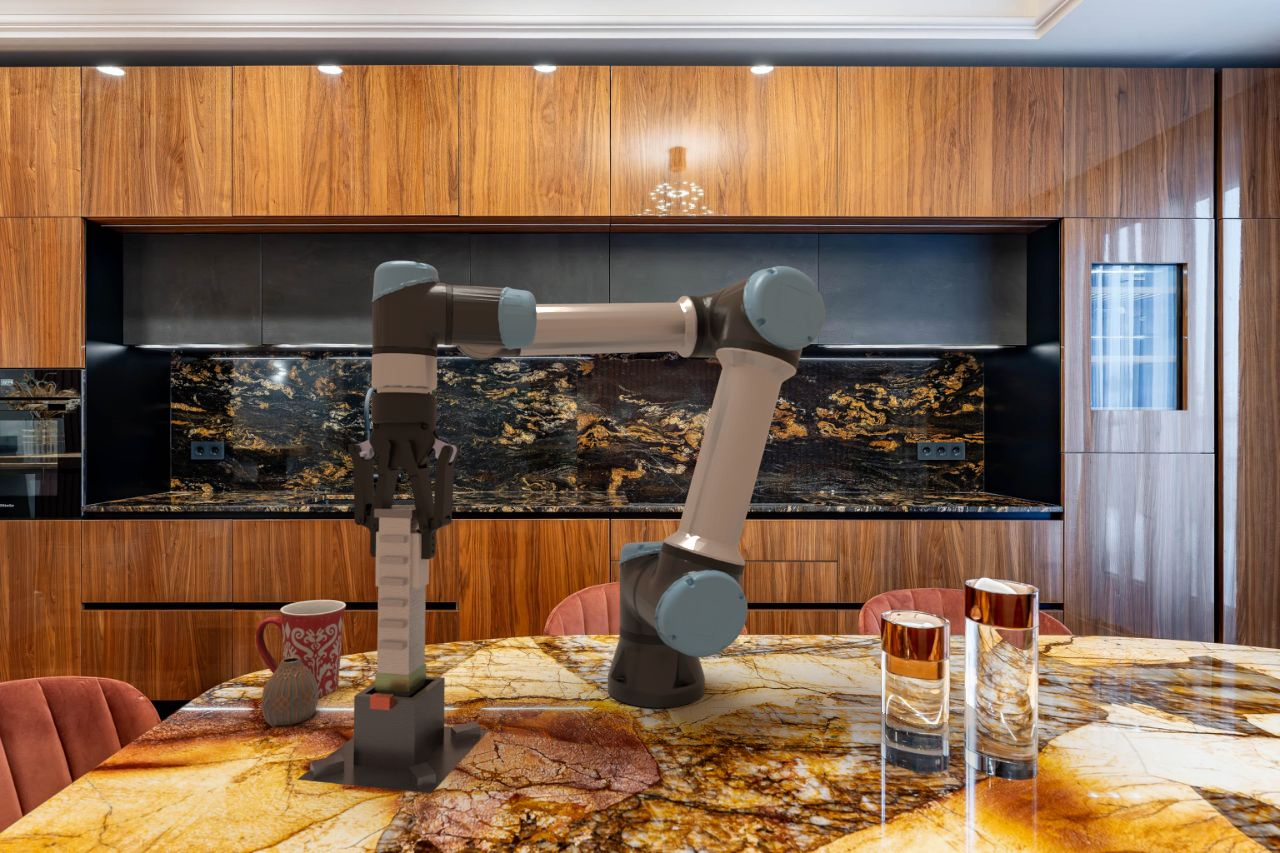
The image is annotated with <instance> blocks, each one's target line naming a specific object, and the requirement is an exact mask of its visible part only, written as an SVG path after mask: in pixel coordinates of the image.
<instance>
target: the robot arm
mask: <svg viewBox="0 0 1280 853" xmlns="http://www.w3.org/2000/svg"><path fill="white" fill-rule="evenodd" d="M373 275H374V276H373V290H372V291H373V293H372V299H371V303H372V304H371V310H372V311H371V312H372V313H371V316H372V317H371V318H372V320H371V321H372V323H371V324H372V327H371V328H372V331H371V334H372V336H371V337H372V338H371V339H372V341H371V344H372V352H371V353H372V354H371V357H372V358H371V387H372V388H373V389H375V390H376V392H375V393H373V394H372V395H371V413H370V414H371V416H370V417H371V419H370V420H371V423H372V431H371V433H370V435H369V437H368V438H369V439H367V440H365V441H363V442H360V443H352V444H350V445H349V446H348V452H349V455H350V459H351V461H352V466H353V505H354V506H353V507H354V508H353V510H354V512H353V513H354V523H355V525H357V526H362V527H365V528H367V529H368V530H369V536H370V537H369V553H370V557H371V558H375V587H378V570H379V517H374V509H376V508H383V507H388V506H392V505H393V500H394V497H395V496H394V495H395V491H396V486H397V481H398V477H399V476H400V474H401V471H402V469H404V470H406V474H407V476H408V478H409V479H410V485H411V491H412V496H413V503H414V505H415V508H416V509H417V519H418V525H419V529H417V530H416V531H417V532H416V533H413V572H412V588H420V587H422V586H425V585H426V586H427V585H429V584H430V559H433V558H435V555H436V552H437V551H436V548H437V543H436V542H437V532H438V530H439V529H441V528H443V527H446V526H450V525H451V523H452V522H453V520H452V519H453V500H454V499H453V498H454V480H455V479H454V476H455V474H454V473H455V464H456V460H457V458H458V455H459V453H460V447H459V446H458V445H457V444H449V443H446V442H444V441H443V440H441V439H440V436H439V435H438V433H437V432H438V431H437V428H436V424H437V419H438V418H437V416H438V412H437V411H438V410H437V408H438V407H437V406H438V405H437V404H438V397H436V395H435V394H432V392H433V391H435V390H436V389H437V388H438V385H437V384H438V345H441V346H442V345H443V346H456V347H457V349H458V350H459V351H460V353H462V354H463V355H464V356H466V357H467V358H469V359H472V360H475V361H476V360H477V361H478V360H479V361H485V360H490V359H492V358H503V357H506V358H507V357H509V358H510V357H525V356H527V357H528V356H529V357H530V356H559V355H561V356H563V355H590V354H592V355H593V354H594V355H595V354H619V353H620V354H621V353H622V354H625V353H626V354H627V353H656V352H657V353H658V352H663V353H664V352H676V353H677V354H678V355H679V356H681V357H683V358H713V359H714V358H715V359H717V360H718V362H719V363H720V365H721V368H722V369H721V371H720V372H721V373H720V376H719V380H718V383H717V388H716V391H715V395H714V399H713V401H712V406H711V409H710V413H709V416H708V420H707V424H706V427H705V430H704V435H703V438H702V442H701V445H700V450H699V452H698V457H697V461H696V464H695V467H694V471H693V475H692V479H691V482H690V487H689V490H688V493H687V497H686V500H685V504H684V507H683V511H682V515H681V519H680V523H679V526H678V528H677V530H676V531H675V532H674V533H672V534H670V535H669V536H666V537H665V538H664V539H663V540H662V541H661V540H659V541H637V542H636V541H635V542H629V543H626V544H624V545H623V546H622V547H621V550H620V554H619V555H620V557H619V562H618V568H619V622H618V623H619V635H618V642H617V644H616V645H617V646H616V648H615V651H614V655H613V658H612V661H611V663H610V667H609V670H608V673H607V692H608V694H609V695H610V696H611V697H612V698H614V699H615V700H617V701H619V702H621V703H624V704H627V705H631V706H636V707H642V708H656V709H657V708H659V709H661V708H673V707H681V706H684V705H688V704H691V703H694V702H696V701H698V700H699V699H701V698H702V697H703V696H704V694H705V692H706V691H705V690H706V686H705V685H706V684H705V683H706V681H705V680H706V678H705V673H704V670H703V666H702V663H701V660H700V658H703V657H710V656H713V655H714V656H715V655H717V654H719V653H720V652H722V651H723V650H725V649H727V648H729V647H730V646H731V645H732V644H733V643H734V642H735V641H736V640H737V639H738V637H739V636H740V635H741V634H742V631H743V629H744V627H745V624H746V622H747V617H748V601H747V597H746V596H745V593H744V590H743V588H742V586H741V582H742V578H743V574H744V570H745V567H746V561H745V559H744V557H743V555H742V554H741V551H740V550H739V545H740V540H741V537H742V534H743V531H744V530H743V529H744V527H745V523H746V517H747V515H748V511H749V507H750V504H751V500H752V496H753V493H754V488H755V486H756V481H757V477H758V474H759V469H760V467H761V463H762V462H761V461H762V458H763V454H764V451H765V447H766V443H767V440H768V435H769V432H770V429H771V426H772V425H771V424H772V422H773V417H774V413H775V409H776V406H777V402H778V399H779V394H780V391H781V387H782V383H784V382H785V381H787V380H788V379H790V378H792V377H793V376H795V375H796V373H797V371H798V370H797V369H798V366H799V362H800V359H801V356H802V352H803V348H806V347H808V346H810V345H811V344H812V343H813V342H814V341H815V340H816V339H817V338H818V336H820V334H821V332H822V330H823V327H824V323H825V318H826V307H825V303H824V300H823V297H822V296H823V295H822V294H821V292H820V291H819V290H818V288H817V285H816V284H815V282H814V281H813V280H812V279H811V278H810V277H809V276H808V275H807V274H805V273H804V272H802V271H801V270H799V269H797V268H794V267H790V266H786V265H785V266H783V265H777V266H773V267H770V268H763V269H760V270H758V271H756V272H753V273H752V275H751V276H749V277H746V278H745V279H743V280H740V281H738V282H736V283H735V282H734V283H733V284H731V285H729V286H726V287H723V288H722V289H719V290H716V291H713V292H710V293H704V294H699V295H683V296H680V298H679V297H678V298H679V299H678V300H677V301H676V302H634V303H633V302H626V303H625V302H622V303H621V302H617V303H616V302H614V303H611V302H610V303H607V302H605V303H537V301H536V298H535V295H534V294H533V293H532V292H531V291H529V290H524V289H522V290H521V289H516V288H511V287H509V286H506V287H492V286H474V285H473V286H471V285H458V284H446V283H445V282H440V278H439V272H438V269H436V268H435V267H434V266H433V265H430V264H428V263H422V262H416V261H412V260H411V261H410V260H391V261H386V262H382V263H381V264H379V265H378V266H377V267H376V268H375V271H374V274H373ZM434 451H435V454H434V457H435V458H436V459H437V460H436V463H435V477H434V479H435V480H434V496H433V490H432V486H431V485H432V484H431V480H430V473H431V469H430V464H429V458H430V457H431V455H432V454H433V452H434ZM375 454H376V455H377V457H378V458H379V459H378V465H377V469H376V474H377V480H376V484H374V483H375V481H374V480H375V477H374V476H375V475H374V459H373V457H374V456H375Z"/></svg>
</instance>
